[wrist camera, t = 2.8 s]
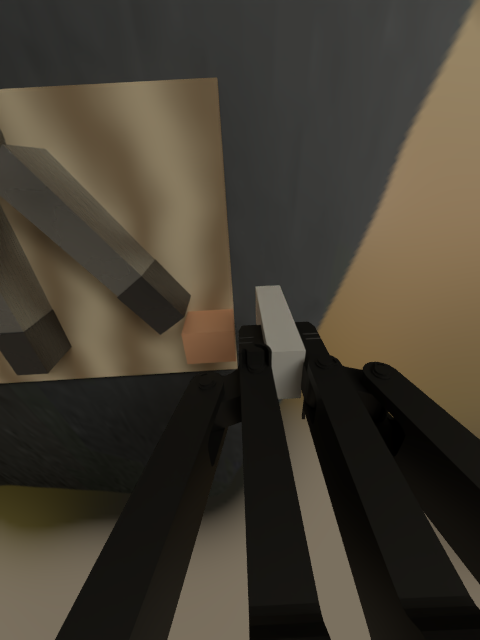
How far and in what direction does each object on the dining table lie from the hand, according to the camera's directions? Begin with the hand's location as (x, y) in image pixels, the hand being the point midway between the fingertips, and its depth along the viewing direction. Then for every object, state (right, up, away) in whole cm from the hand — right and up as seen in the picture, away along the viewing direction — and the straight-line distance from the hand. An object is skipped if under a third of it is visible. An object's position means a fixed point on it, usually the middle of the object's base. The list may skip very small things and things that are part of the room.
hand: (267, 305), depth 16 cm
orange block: (-4, -1, +7) cm, 8 cm away
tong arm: (-11, +5, +3) cm, 12 cm away
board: (-18, +3, +5) cm, 18 cm away
